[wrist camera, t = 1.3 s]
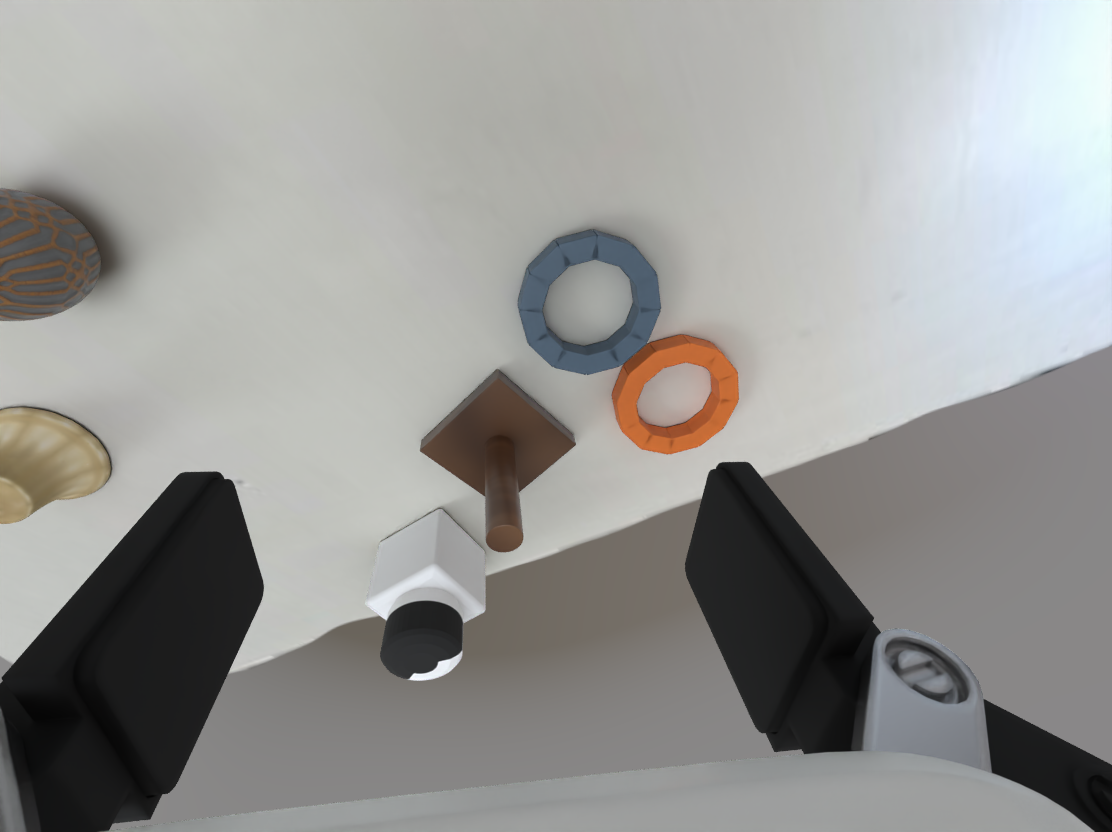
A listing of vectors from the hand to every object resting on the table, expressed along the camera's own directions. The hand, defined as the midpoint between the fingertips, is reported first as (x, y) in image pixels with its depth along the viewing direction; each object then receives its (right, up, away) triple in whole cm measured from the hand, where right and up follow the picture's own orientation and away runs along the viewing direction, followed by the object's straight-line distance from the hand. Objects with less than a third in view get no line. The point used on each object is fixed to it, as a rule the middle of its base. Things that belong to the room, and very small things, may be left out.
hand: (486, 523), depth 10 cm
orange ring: (+11, +4, +32) cm, 34 cm away
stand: (-3, 0, +32) cm, 33 cm away
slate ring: (+4, +11, +27) cm, 30 cm away
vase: (-29, +13, +21) cm, 39 cm away
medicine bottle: (-10, -10, +38) cm, 40 cm away
